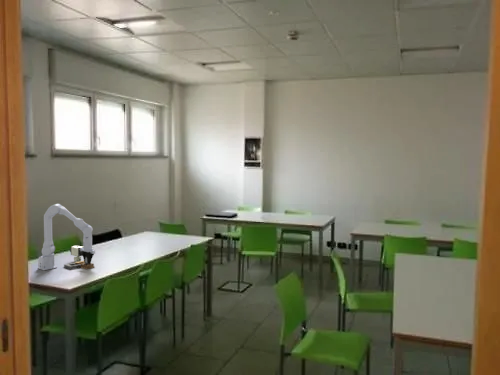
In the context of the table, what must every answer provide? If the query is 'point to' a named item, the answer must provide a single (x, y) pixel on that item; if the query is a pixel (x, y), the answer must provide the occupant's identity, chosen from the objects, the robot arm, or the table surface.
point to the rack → (87, 266)
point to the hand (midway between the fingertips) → (87, 262)
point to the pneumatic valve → (76, 252)
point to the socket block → (72, 266)
